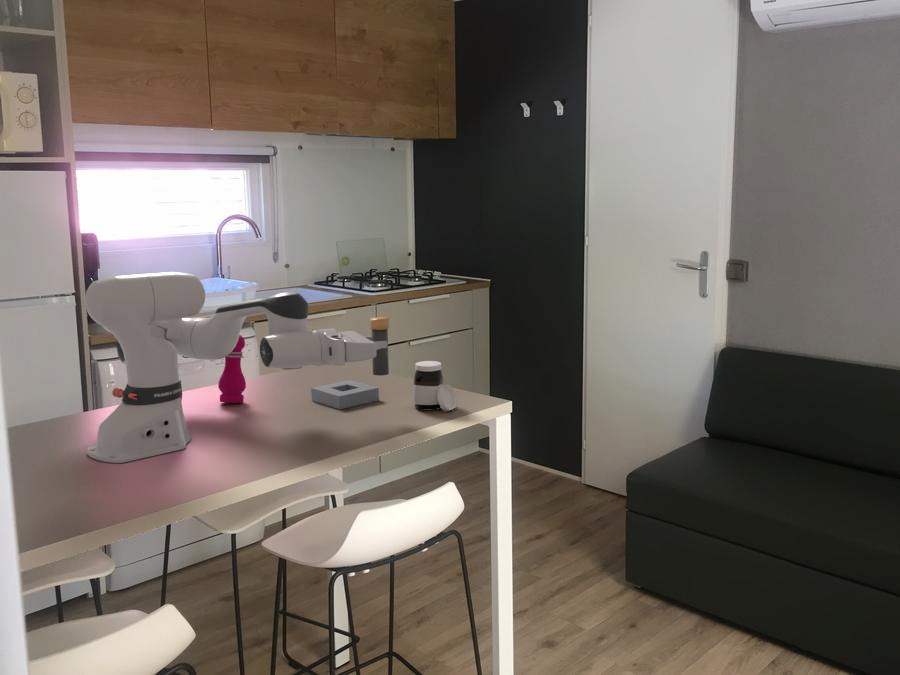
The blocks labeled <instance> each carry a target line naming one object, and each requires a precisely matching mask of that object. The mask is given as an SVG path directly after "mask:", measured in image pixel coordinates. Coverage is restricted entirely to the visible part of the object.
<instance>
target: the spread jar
mask: <svg viewBox="0 0 900 675" xmlns="http://www.w3.org/2000/svg"><path fill="white" fill-rule="evenodd" d="M414 365H415V367H414V368H415V372H414V375H413V403H414V407H415V408H416V409H417V408H419V409H418V410H420V409H437V408H440V407H441V408H440V409H441V410H443V411H445V412H451V411H450V410H449V408H452V409H453V408H455V409H456V407H457V405H458V404H457V403H458V398H457V394H456V391H455V389H454V388H453V387H452V385H449V384H444V373H443V371H442V363H441V362H440V361H436V360H435V361H434V360H424V361H419V362H418V361H417V362H416V363H415V364H414ZM437 410H438V409H437Z"/></svg>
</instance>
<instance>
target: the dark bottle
mask: <svg viewBox="0 0 900 675" xmlns="http://www.w3.org/2000/svg"><path fill="white" fill-rule="evenodd" d="M369 329H370V330H371V337H372V341H374V342H375V341H379V340H385V341H387V348H382V349H378V350H376V352H377V355H376V357H375V358H373V359H371V361H372V362H371V363H372V374H373V375H374V376H387V375H389V374H390V372H389V370H390V368H389V365H390V364H389V335H388V334H389V333H388V332H389V329H390V318H389V317H387V316H379V317H378V316H377V317H370V318H369Z"/></svg>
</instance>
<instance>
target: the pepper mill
mask: <svg viewBox="0 0 900 675" xmlns="http://www.w3.org/2000/svg"><path fill="white" fill-rule="evenodd" d="M245 346H246V341H245V338H244V336H242V335H241V334H240V335H239V339H238V342H237V344H236V346H235V348H234V349H233V351H232V352H231V353H230V354H229V355H228V356H226V357H224V362H225V363H224V369H223V371H222V374H221V376H220V378H219V381H218V385H217V386H218V389H219V391H220V392H221V394H220V395H219V402H220V403H226V404H239V403H243V402H244V401H245V400H244V398H245V396H244V395H243V393H244V391H245V389H246V388H247V384H246V383H247V382H246V379H245V376H244V374H243V371H242V367H241V364H242V363H241V362H242V361H241V360H242V358H243V351H242V350H243V349H244V348H245Z"/></svg>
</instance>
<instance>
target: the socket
mask: <svg viewBox="0 0 900 675" xmlns="http://www.w3.org/2000/svg"><path fill="white" fill-rule="evenodd" d="M310 389H311V390H310V391H311V393H310V394H311V401H312V402H316V403H319V404H322V405H325V406H328V407H331V408H335V409H338V410H342V409H347V407H348V408H351V406H352V407H356V406H360V405H359V404H361V405H365V404H369V403H373V402H372V401H374V402H377V401H376V400H378V401H379V400H380V391H379V387H377V386H373V385H370V384H366V383H362V382H359V381H356V380H351V379H349V380H344V381H338V382H335V383H328V384H324V385H323V384H322V385H319V386H315V387H314V386H313V387H311V388H310ZM368 402H369V403H368ZM364 403H365V404H364Z"/></svg>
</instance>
